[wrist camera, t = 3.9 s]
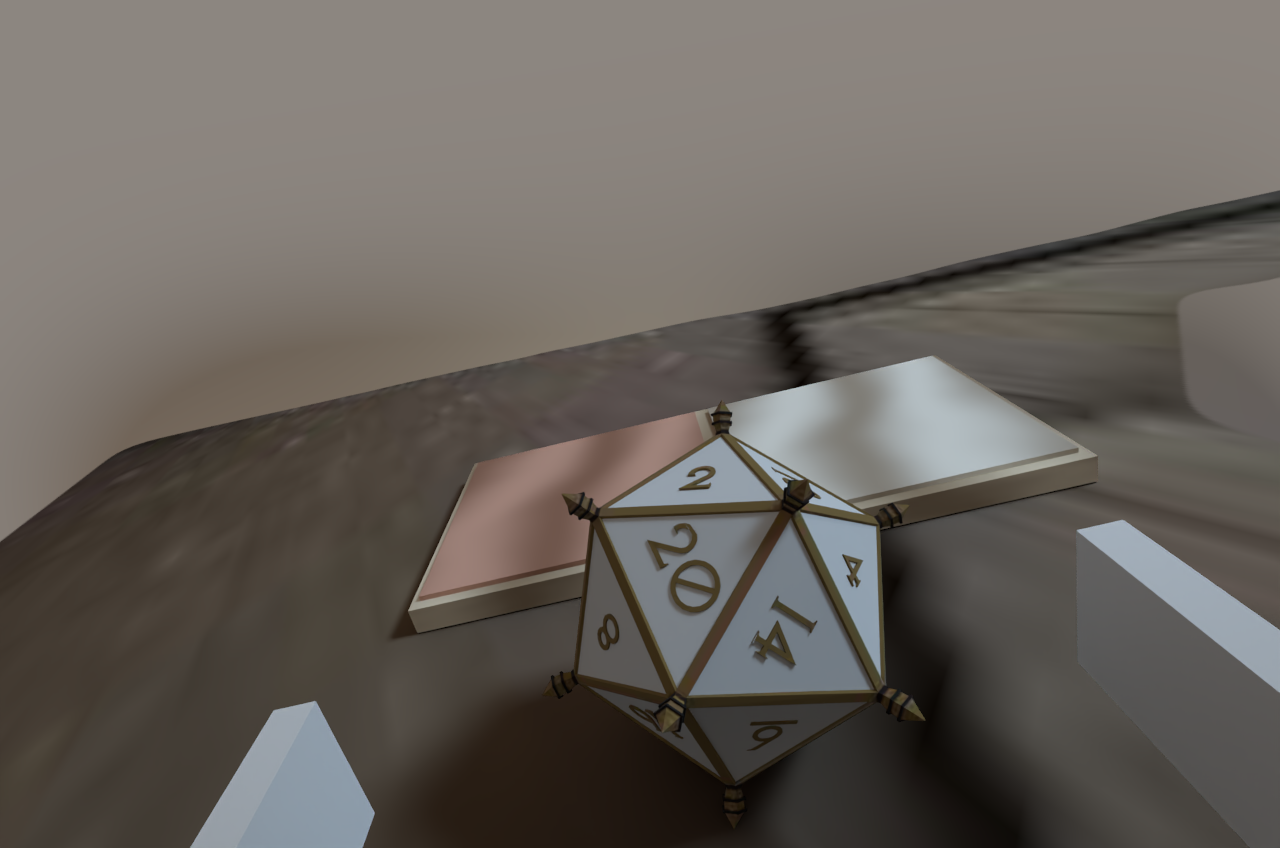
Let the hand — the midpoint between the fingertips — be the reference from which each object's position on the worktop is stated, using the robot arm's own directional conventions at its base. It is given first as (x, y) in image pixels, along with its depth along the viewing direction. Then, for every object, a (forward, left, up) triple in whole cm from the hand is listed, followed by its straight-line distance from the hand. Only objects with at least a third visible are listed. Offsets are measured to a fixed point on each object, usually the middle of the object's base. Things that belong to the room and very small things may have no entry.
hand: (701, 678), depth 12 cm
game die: (-1, -5, -6) cm, 8 cm away
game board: (-2, -18, -6) cm, 19 cm away
